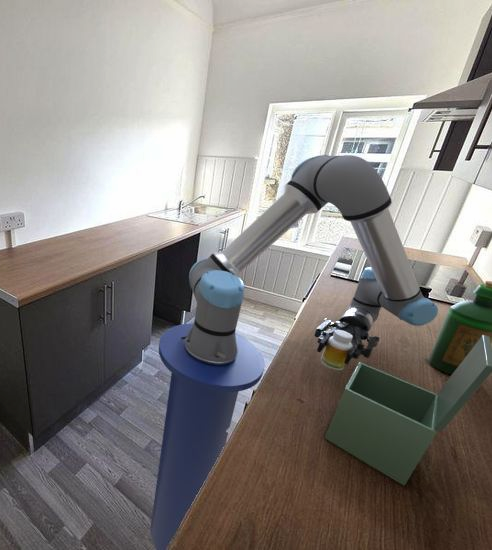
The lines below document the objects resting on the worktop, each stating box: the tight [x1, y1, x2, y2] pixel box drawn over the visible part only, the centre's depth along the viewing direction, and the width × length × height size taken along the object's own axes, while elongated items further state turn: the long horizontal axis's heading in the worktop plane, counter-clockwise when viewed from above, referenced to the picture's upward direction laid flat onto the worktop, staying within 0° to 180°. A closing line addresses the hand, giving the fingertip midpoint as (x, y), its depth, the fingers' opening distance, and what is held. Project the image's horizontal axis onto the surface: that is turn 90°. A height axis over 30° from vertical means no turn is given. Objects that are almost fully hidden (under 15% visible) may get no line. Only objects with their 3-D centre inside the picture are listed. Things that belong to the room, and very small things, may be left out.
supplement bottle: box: [320, 330, 353, 371], centre depth 78 cm, size 5×5×10 cm
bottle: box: [428, 280, 492, 376], centre depth 84 cm, size 11×11×28 cm
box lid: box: [435, 335, 492, 433], centre depth 51 cm, size 14×13×1 cm
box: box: [324, 361, 438, 487], centre depth 61 cm, size 13×13×14 cm
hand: (333, 353), depth 74 cm, fingers closed on supplement bottle, 5 cm apart
